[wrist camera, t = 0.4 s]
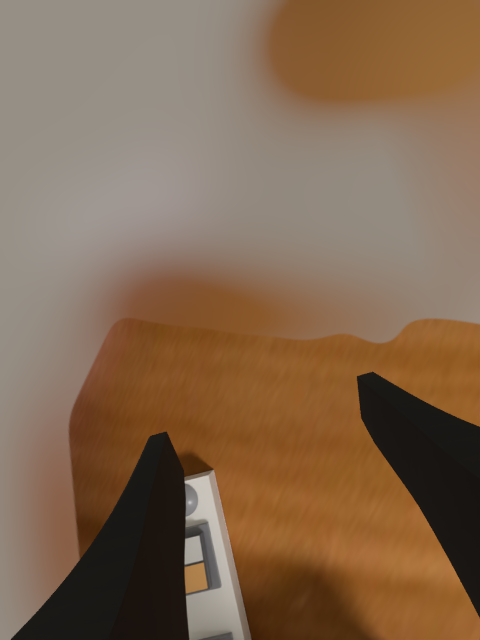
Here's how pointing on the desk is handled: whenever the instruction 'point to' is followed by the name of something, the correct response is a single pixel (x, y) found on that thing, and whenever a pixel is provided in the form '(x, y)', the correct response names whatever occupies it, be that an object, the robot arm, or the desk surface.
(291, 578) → the desk surface
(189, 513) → the rocker switch panel
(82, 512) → the desk surface
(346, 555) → the desk surface
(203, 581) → the rocker
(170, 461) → the robot arm
